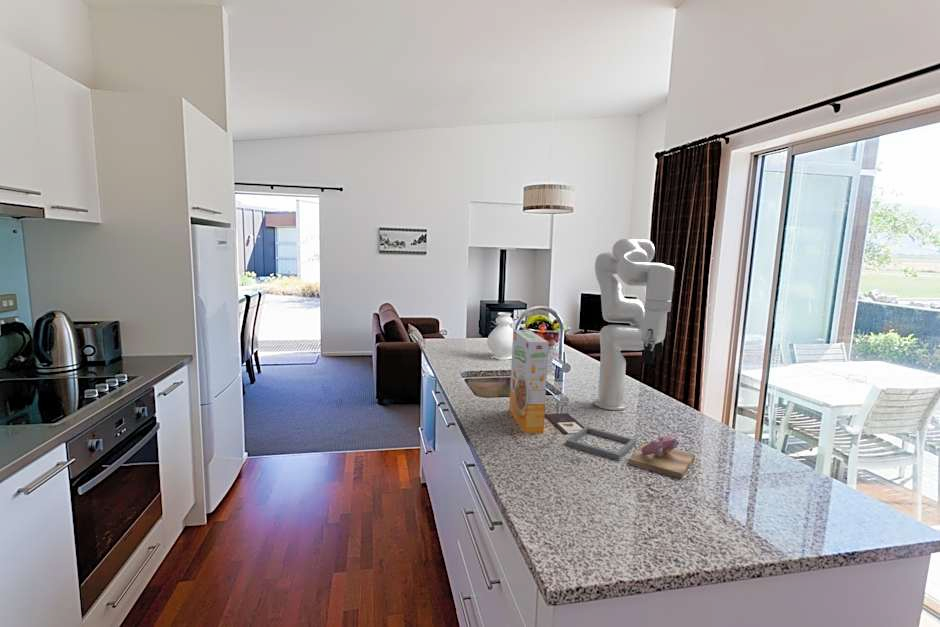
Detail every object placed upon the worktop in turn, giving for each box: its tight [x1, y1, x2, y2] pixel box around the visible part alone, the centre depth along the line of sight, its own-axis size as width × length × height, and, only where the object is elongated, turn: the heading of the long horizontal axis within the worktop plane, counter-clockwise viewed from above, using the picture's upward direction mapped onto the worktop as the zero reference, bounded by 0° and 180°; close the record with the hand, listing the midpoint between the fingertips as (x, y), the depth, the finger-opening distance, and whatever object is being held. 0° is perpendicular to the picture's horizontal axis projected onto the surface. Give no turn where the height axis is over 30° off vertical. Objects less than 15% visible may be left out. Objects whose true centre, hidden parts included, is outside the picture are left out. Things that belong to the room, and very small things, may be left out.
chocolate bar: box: [544, 412, 590, 435], centre depth 163 cm, size 9×1×18 cm
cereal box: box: [508, 329, 550, 434], centre depth 162 cm, size 22×6×30 cm, turn 8°
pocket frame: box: [565, 426, 637, 461], centre depth 146 cm, size 15×16×2 cm
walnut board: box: [628, 441, 696, 480], centre depth 135 cm, size 16×14×2 cm
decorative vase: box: [486, 311, 514, 359], centre depth 260 cm, size 18×18×25 cm
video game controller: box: [641, 435, 680, 456], centre depth 135 cm, size 10×5×7 cm, turn 118°
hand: (651, 359), depth 147 cm, fingers open, 9 cm apart
